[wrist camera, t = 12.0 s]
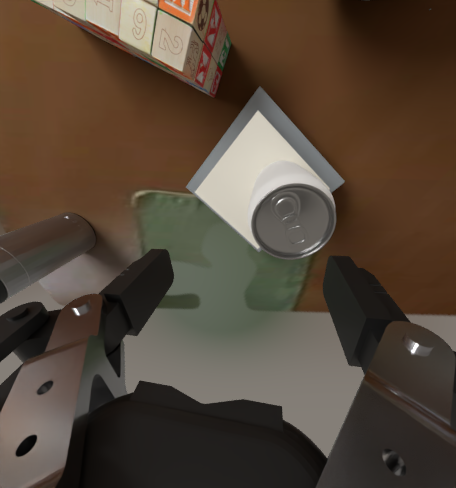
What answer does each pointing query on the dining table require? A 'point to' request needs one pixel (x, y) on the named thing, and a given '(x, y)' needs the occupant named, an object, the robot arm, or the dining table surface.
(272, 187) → the can
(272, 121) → the tower base
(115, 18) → the stack of blocks
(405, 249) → the dining table surface
